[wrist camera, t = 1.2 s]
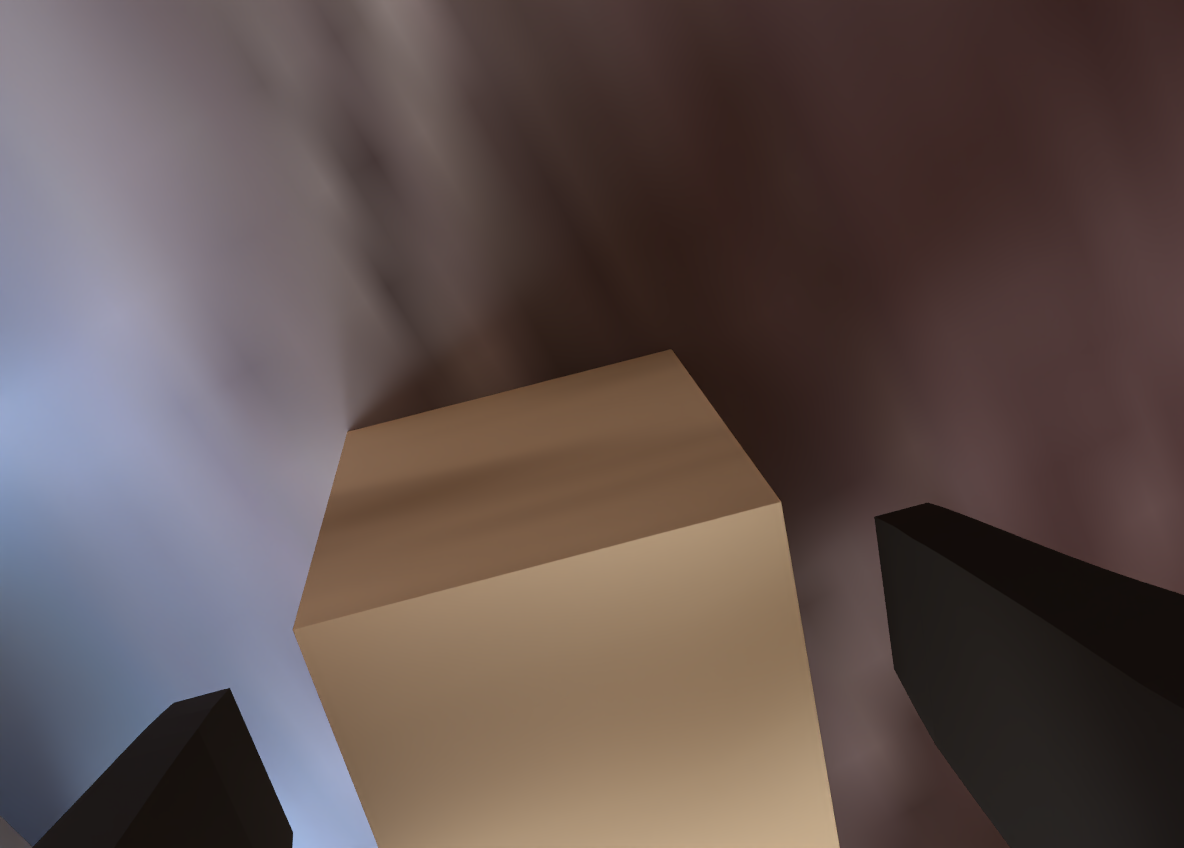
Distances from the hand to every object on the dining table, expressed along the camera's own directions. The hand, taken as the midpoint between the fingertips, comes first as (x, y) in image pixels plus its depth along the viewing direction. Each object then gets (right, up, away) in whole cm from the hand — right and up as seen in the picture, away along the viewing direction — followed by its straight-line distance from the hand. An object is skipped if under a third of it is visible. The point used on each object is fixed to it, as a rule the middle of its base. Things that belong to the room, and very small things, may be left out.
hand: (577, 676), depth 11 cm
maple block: (0, +1, +4) cm, 4 cm away
